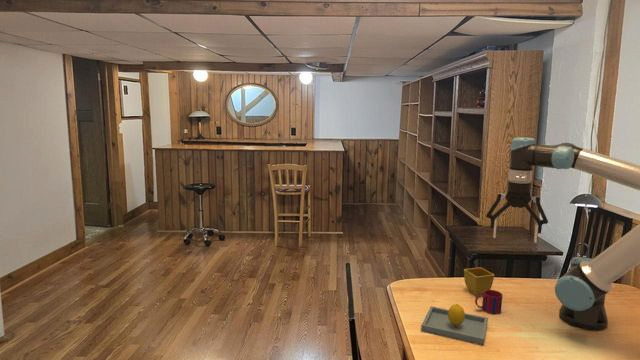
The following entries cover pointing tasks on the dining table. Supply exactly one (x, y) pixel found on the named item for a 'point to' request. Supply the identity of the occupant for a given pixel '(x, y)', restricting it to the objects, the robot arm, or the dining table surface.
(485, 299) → the mug
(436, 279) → the dining table surface
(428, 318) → the tray
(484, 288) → the flower pot
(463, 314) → the lemon
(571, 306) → the robot arm
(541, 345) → the dining table surface
